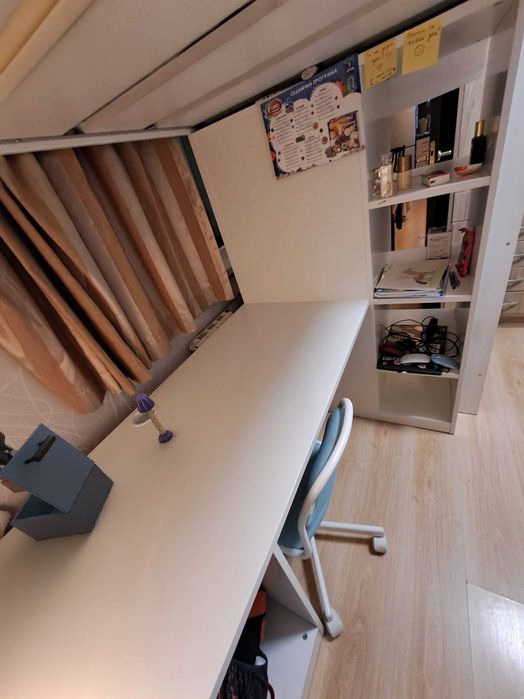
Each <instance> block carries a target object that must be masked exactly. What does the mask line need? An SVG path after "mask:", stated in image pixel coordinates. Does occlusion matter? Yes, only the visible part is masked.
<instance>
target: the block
mask: <svg viewBox="0 0 524 699" xmlns="http://www.w3.org/2000/svg"><path fill="white" fill-rule="evenodd" d="M0 484H1V485H2V486H3V487H5V488H7V489H8V490H9V491H11V492H12V493H14V494H19V493H24V492H27V491H26V490H24V489H22V488H20V487H19V486H17V485H15V484H13V483H11V482H10V481H8V480H6V479H4V478H3V480H0Z"/></svg>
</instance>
